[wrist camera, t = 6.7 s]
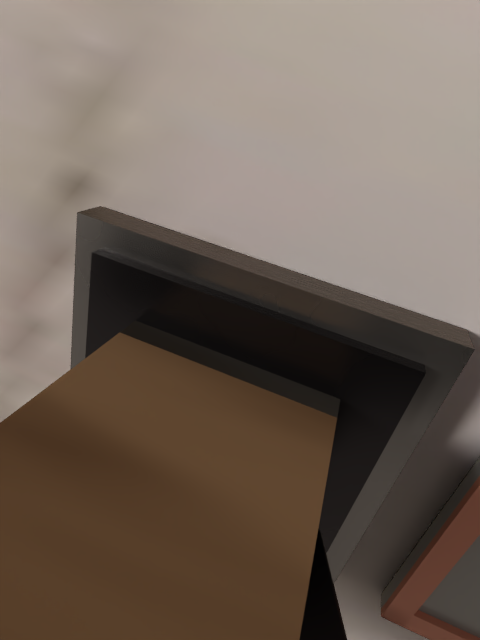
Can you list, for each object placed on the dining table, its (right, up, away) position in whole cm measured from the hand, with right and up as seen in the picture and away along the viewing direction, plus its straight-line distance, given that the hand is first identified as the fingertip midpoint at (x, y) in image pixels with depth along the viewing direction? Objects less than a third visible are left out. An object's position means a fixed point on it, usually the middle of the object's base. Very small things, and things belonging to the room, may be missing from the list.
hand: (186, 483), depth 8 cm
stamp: (0, +1, +1) cm, 1 cm away
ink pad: (+1, +1, +2) cm, 2 cm away
